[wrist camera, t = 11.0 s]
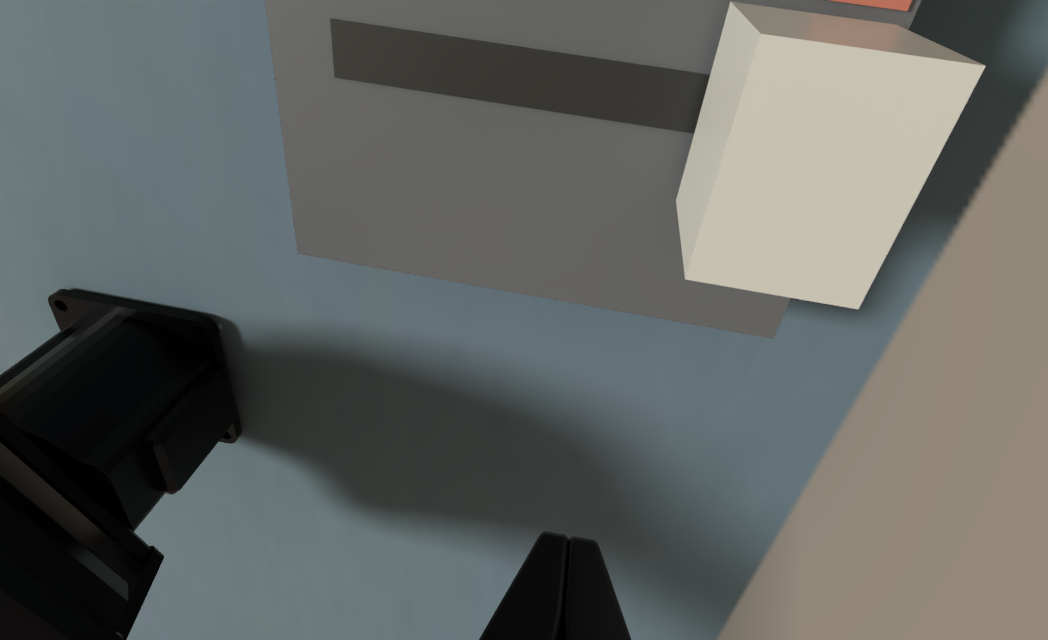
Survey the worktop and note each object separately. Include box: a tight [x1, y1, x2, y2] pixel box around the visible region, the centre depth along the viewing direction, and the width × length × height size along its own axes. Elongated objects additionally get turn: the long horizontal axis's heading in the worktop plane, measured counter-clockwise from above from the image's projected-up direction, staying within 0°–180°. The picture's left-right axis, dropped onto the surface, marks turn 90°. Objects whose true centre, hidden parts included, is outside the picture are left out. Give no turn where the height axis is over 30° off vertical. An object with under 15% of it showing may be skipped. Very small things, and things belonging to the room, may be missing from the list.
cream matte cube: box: [676, 1, 986, 309], centre depth 11 cm, size 3×4×4 cm
